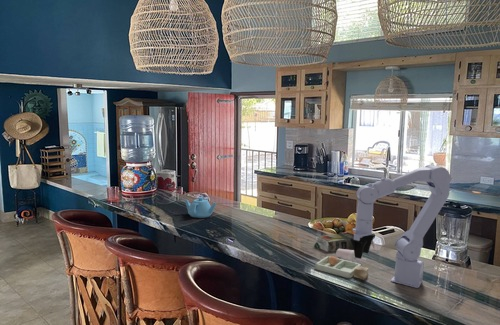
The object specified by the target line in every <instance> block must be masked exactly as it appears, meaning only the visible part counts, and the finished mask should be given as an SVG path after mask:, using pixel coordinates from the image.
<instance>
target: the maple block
mask: <svg viewBox="0 0 500 325" xmlns="http://www.w3.org/2000/svg"><path fill="white" fill-rule="evenodd" d="M353 277H354V278H357V279H361V280H366V279H367V278H368V277H369V268H368V267H366V266H363V265H361V266H357V267H356V268H355V269H354V276H353Z"/></svg>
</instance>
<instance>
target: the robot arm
mask: <svg viewBox="0 0 500 325" xmlns="http://www.w3.org/2000/svg"><path fill="white" fill-rule="evenodd" d="M451 181H452V177H451V175H450V171H449V170H448V169H447V168H445V167H442V166H438V165H435V164H427V165H425V166H421V167H418V168H416V169H414V170H412V171H409V172H407V173H405V174H402V175H400V176H397V177H395V178H393V179H392V178H389V177H382V178H380V180H379V181H375V182H373V183H371V182H369V183H368V185H362V186H360V187H358V189H357V191H356V192H355V194H356V198H357V206H356V218H355V228H352V229H351V230H352V232H354V234H353V235H354V237H351V238H350V241H351V243H352V245H353V248H354V254H355V258H359V259H361V257H362V256H363V255H364V254H369V252H370V249H371V245H372V242H373V240H374V239H375V237H376V234H375V233H373V219H374V218H373V217H374V203H375V201H376V200H377V199H380V198H384V197H385V196H388V195H390V194H394V193H395V191H396V190H397V188H400V187H403V186H406V185H409V184H413V183H417V182H425V183H426V184H428V187H429V190H430V192H431V193H430V194H429V197H428V198H427V200H426V202H425V203H424V205H423V206H422V208H421V209H420V211H419V213H418V214H417V216H416V217H415V219H414V221H413V223H412V224H411V226H410V227H409V229H408V230H406V231H404V232H403V233H402V235H401V236H400V237H398V238H397V239H396V240H395V243H394V247H395V250H396V251H397V252H396V254H395V255H396V256H395V267H394V275H393V277H392V278H391V279H390V281H391V282H393V283H397V284H400V285H404V286H408V287H412V288H415V289H418V288H420V286H421V285H422V284H423V281H424V280H423V277H424V264H425V263H424V261H422V260H420V259H419V258H420V256H421V252H422V248H423V246H424V237H425V235H426V234H427V232H428V231H429V229H430V228H431V226H432V224H433V223H434V221H435V220H436V218H437V216H438V214H439V213H440V211H441V210H442V208H443V206H444V205H445V203H446V201H447V200H448V198H449V196H450V189H451V187H450V185H451ZM363 253H364V254H363Z"/></svg>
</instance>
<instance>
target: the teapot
mask: <svg viewBox="0 0 500 325" xmlns="http://www.w3.org/2000/svg"><path fill="white" fill-rule="evenodd" d="M208 199H209V198H205V199H204V197H201V196H200V197H197V199H194V200H193V201H192V202H191V203H190V201H189V199H184V203H185V206H186V209H187V214H188V215H189V216H190V217H192V218H198V219H204V218H209V217H211V216H212V213H214V211H215V208H216V206H217V202H213V203H211V204H212V205H211V204H210V202H209V200H208Z"/></svg>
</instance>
